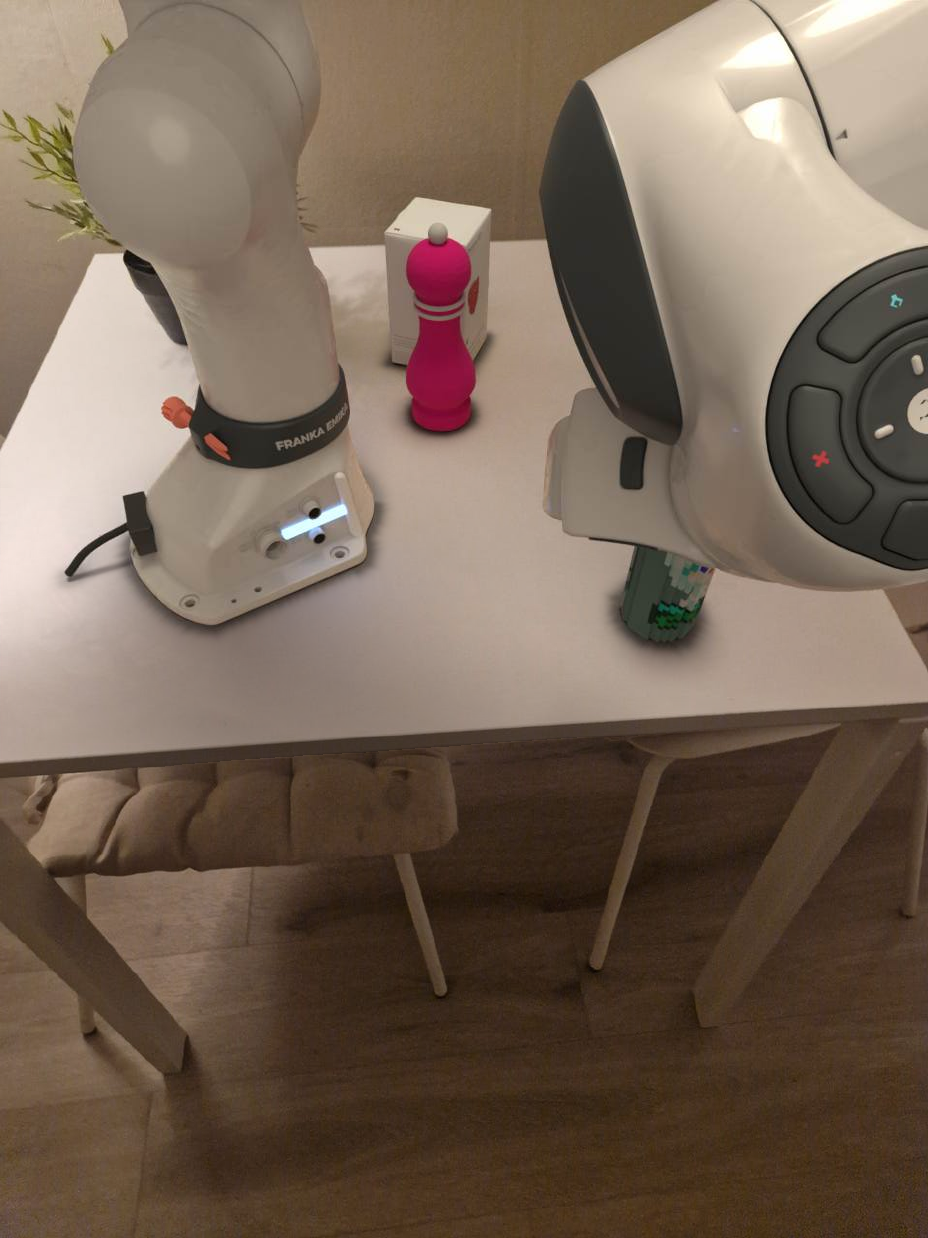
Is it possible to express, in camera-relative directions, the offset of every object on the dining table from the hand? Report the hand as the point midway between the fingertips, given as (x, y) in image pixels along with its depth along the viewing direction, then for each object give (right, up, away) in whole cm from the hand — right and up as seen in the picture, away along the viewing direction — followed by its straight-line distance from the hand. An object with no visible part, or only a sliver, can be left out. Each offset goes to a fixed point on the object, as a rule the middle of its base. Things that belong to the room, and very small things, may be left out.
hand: (722, 496), depth 47 cm
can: (+1, -7, +21) cm, 22 cm away
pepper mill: (-18, +15, +38) cm, 45 cm away
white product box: (-18, +24, +46) cm, 55 cm away
